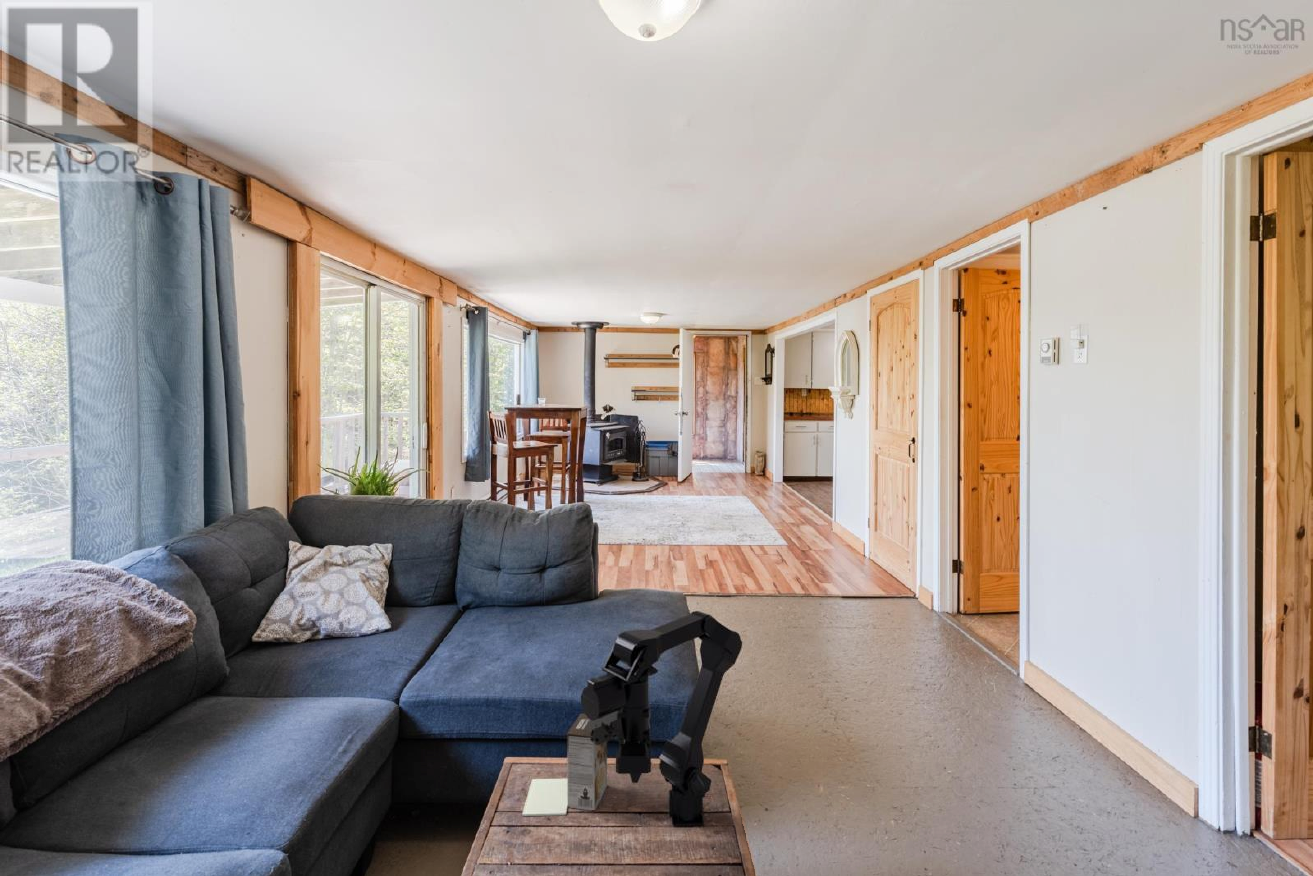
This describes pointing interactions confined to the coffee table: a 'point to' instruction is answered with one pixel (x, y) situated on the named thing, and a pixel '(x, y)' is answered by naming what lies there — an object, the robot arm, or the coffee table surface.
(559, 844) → the coffee table surface
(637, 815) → the coffee table surface
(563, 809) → the pad
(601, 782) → the coffee box
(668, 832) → the coffee table surface
